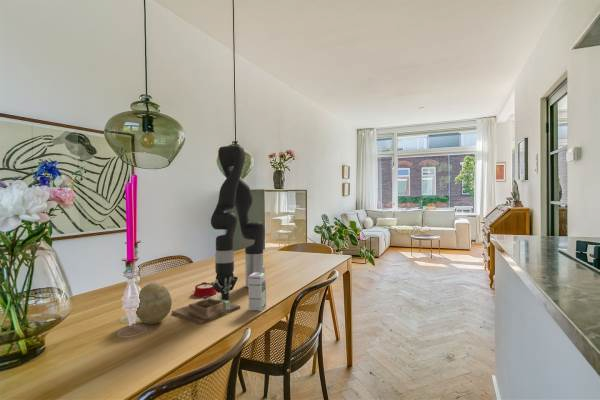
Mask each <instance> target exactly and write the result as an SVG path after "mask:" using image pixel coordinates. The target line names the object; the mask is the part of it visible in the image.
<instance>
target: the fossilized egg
mask: <svg viewBox="0 0 600 400" xmlns="http://www.w3.org/2000/svg"><path fill="white" fill-rule="evenodd" d="M139 292H140V294H139V293H138V294H139V299H140V303H139V307H138V308H137V311H136V313H135V314H136V317H137V319H139V321H141V322H143V323H145V324H148V325H153V324H158V323H160V322H161V321H163V320H164V319H165V318H166V317H167V316H168V315H169V313H170V311H171V308H172V304H173V302H172V301H173V300H172V296H171V294H170V292H169V290H168V288H166V286H164V285H163V284H161V283H159V282H156V281H152V282H149V283H147V284H146V285H145V286H143V287H142V288H141V290H139Z"/></svg>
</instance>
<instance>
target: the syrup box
mask: <svg viewBox="0 0 600 400" xmlns="http://www.w3.org/2000/svg"><path fill="white" fill-rule="evenodd" d="M266 285H267V284H266V272H265V273H252V274H251V275H249V276H248V287H247V288H248V310H249V311H252V310H259V311H258V312H262V311H263V310H264V309H265V308H266V307H267V294H266V293H267V289H266V287H267V286H266Z"/></svg>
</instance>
